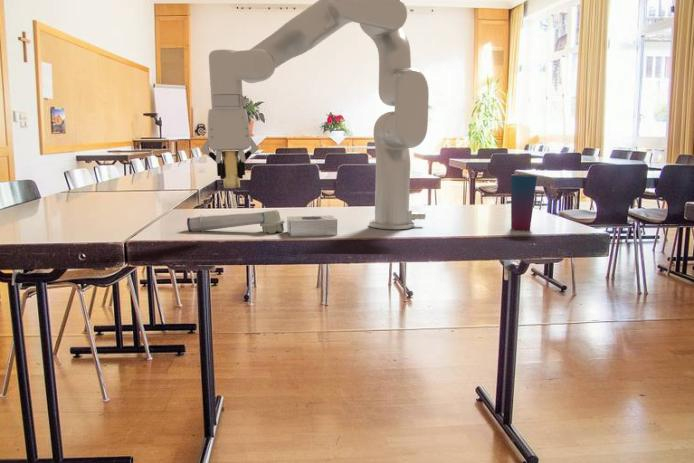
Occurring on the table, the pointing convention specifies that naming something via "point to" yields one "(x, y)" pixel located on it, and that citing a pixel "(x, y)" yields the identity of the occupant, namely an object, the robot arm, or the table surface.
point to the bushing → (231, 169)
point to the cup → (522, 200)
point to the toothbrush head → (238, 221)
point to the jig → (311, 225)
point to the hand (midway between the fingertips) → (231, 177)
